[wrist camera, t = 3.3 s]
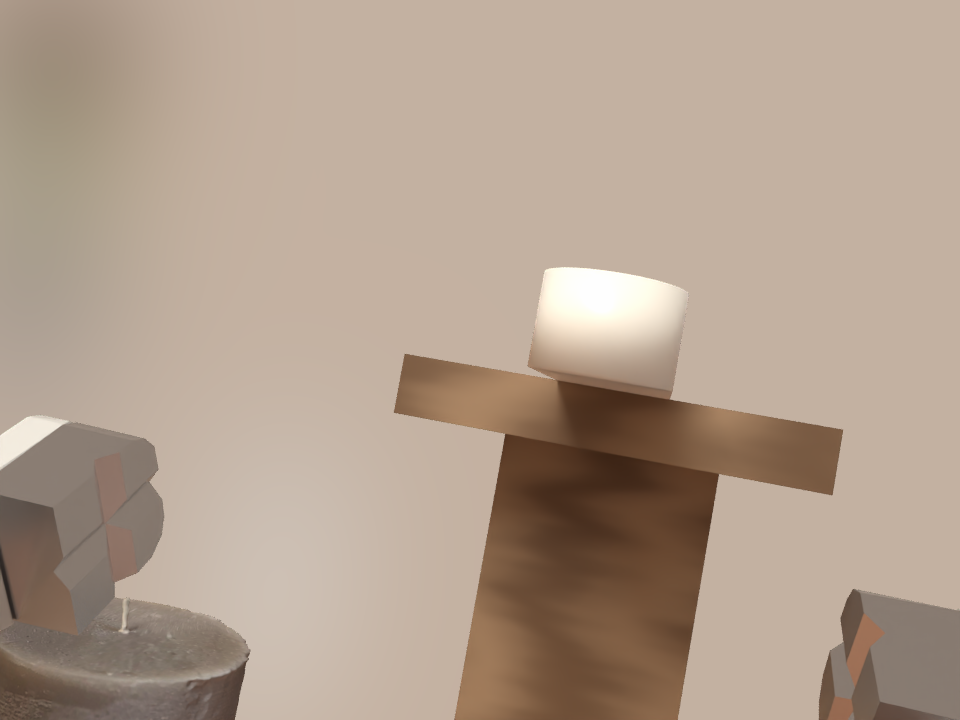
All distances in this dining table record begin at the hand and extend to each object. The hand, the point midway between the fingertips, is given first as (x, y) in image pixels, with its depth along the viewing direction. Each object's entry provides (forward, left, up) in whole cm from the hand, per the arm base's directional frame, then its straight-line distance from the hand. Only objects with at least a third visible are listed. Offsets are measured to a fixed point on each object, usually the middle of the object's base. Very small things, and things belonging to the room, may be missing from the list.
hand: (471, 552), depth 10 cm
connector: (0, -23, +3) cm, 23 cm away
